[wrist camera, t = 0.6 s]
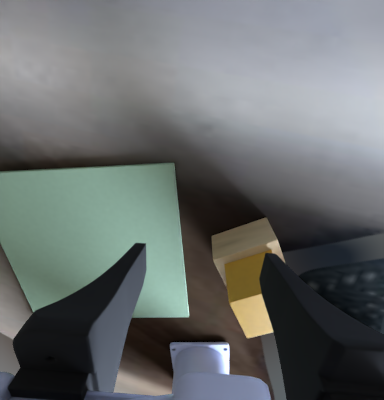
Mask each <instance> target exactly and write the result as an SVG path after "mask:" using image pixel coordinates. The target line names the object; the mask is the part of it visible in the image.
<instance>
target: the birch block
mask: <svg viewBox="0 0 384 400" xmlns="http://www.w3.org/2000/svg"><path fill="white" fill-rule="evenodd" d="M211 238H212V254H213V261H214V263H215V265H216V268H217V270H218V272H219V274H220V276H221V278H222V280H223V282H224V284H225V286H226V288H227V283H226V275H225V267H224V264H227V263H230V262H233V261H236V260H240V259H243V258H246V257H249V256H252V255H255V254H259V253H262V252H265V251H268V250H271V251H272V253H275V254H277V255H278V256H279V257H280V258H281V259H282V260H283V262H284V263H285V260H284V257H283V254H282V251H281V248H280V245H279V243H278V240H277V238H276V236H275V234H274V232H273V229H272V227H271V225H270V223H269V221H268V219H267V218H266V217H265V218H262V219H260V220H257V221H254V222H251V223H248V224H245V225H242V226H239V227H236V228H233V229H230V230H227V231H225V232H222V233H219V234H216V235H213V236H211ZM285 264H286V263H285Z"/></svg>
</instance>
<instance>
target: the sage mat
mask: <svg viewBox="0 0 384 400" xmlns="http://www.w3.org/2000/svg"><path fill="white" fill-rule="evenodd" d="M0 243H1V245H2V248H3V250H4V252H5V254H6V256H7V258H8V260H9V262H10V264H11V266H12V268H13V271H14V273H15V275H16V277H17V279H18V281H19V283H20V285H21V287H22V289H23V291H24V294H25V296H26V298H27V300H28V302H29V304H30V306H31V308H32V310H33V312H35V311H36V310H37V309H40V308H42V307H45V306H47V305H50V304H52V303H54V302H57V301H59V300H61V299H63V298H65V297H67V296H69V295H71V294H73V293H74V292H76V291H78V290H80V289H81V288H83V287H84V286H86V285H88V284H89V283H91V282H92V281H94V280H95V279H97V278H98V277H99V276H101V275H102V274H103V273H104V272H106V271H107V270H108V269H109V268H110V267H112V266H113V265H114V264H115V263H116V262H117V261H118V260H119V259H120V258H121V257H122V256H123V255H124V254H125V253H126V252H127V251H128V250H129V249H130V248H131V247H132V246H133V245H134V244H135V243H146V269H147V270H146V275H145V279H144V283H143V287H142V290H141V293H140V295H139V298H138V301H137V304H136V307H135V309H134V312H133V315H132V318H160V317H189V309H188V298H187V288H186V278H185V268H184V257H183V247H182V237H181V226H180V216H179V206H178V196H177V185H176V175H175V165H174V163H154V164H135V165H116V166H96V167H77V168H58V169H38V170H19V171H0Z"/></svg>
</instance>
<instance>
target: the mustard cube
mask: <svg viewBox="0 0 384 400" xmlns="http://www.w3.org/2000/svg"><path fill="white" fill-rule="evenodd" d="M265 253H272V251H271V250H268V251H265V252H262V253H259V254H255V255H252V256H249V257H246V258H243V259H240V260H236V261H233V262H230V263H227V264H224V267H225V275H226V283H227V291H228V299H229V304H230V306H231V308H232V310H233V312H234V314H235V315H236V317H237V319H238V321H239V323H240V325H241V327H242V329H243V331H244V333H245V335H246V337H247V338H252V337H256V336H260V335H264V334H267V333H272V332H273V328H272V325H271V322H270V319H269V316H268V313H267V310H266V306H265V303H264V300H263V297H262V293H261V287H260V281H259V277H260V273H261V269H262V265H263V261H264V257H265Z"/></svg>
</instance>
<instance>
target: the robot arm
mask: <svg viewBox="0 0 384 400" xmlns="http://www.w3.org/2000/svg"><path fill="white" fill-rule="evenodd" d="M146 270H147V269H146V243H135V244H134V245H133V246H132V247H131V248H130V249H129V250H128V251H127V252H126V253H125V254H124V255H123V256H122V257H121V258H120V259H119V260H118V261H117V262H116V263H115V264H114V265H113V266H112V267H110V268H109V269H108V270H107V271H106V272H104V273H103V274H102V275H101V276H99V277H98V278H97V279H95V280H94V281H92V282H91V283H89V284H88V285H86V286H84V287H83V288H81V289H80V290H78V291H76V292H74V293H73V294H71V295H69V296H67V297H65V298H63V299H61V300H59V301H57V302H54V303H52V304H50V305H47V306H45V307H42V308H40V309H37V310H36V311H35V312H34V313H33V314H32V315H31V316H30V318H29V319H28V320H27V321H26V323H25V324H24V325H23V327H22V328H21V330H20V331H19V332H18V334H17V335H16V336H15V338H14V340H13V348H14V351H15V354H16V357H17V359H18V361H19V364H20V367H21V368H20V369H19V371H18V372H17V374H16V375H15V376H14V375H12V374H11V373H7V372H0V400H271V398H270V393H269V388H268V385H267V384H265V383H264V382H263V381H262V380H260V379H259V378H255V377H251V376H242V375H229V343H227V342H172V343H170V352H171V359H172V365H173V371H174V376H173V386H172V394H168V395H160V396H150V395H137V394H125V393H113V391H114V387H115V382H116V377H117V373H118V369H119V364H120V360H121V356H122V351H123V347H124V343H125V339H126V335H127V331H128V327H129V324H130V321H131V318H132V315H133V312H134V309H135V307H136V304H137V301H138V298H139V295H140V293H141V290H142V287H143V283H144V279H145V275H146ZM259 281H260V287H261V293H262V297H263V300H264V303H265V306H266V310H267V313H268V316H269V319H270V322H271V325H272V328H273V332H274V335H275V339H276V344H277V348H278V353H279V358H280V364H281V369H282V374H283V380H284V386H285V392H286V399H287V400H384V334H382V333H380V332H378V331H376V330H374V329H372V328H370V327H368V326H366V325H364V324H362V323H361V322H359V321H357V320H355V319H354V318H352V317H350V316H349V315H347V314H346V313H344V312H343V311H341V310H340V309H338V308H337V307H335V306H334V305H332V304H331V303H329V302H328V301H327V300H325V299H324V298H323V297H321V296H320V295H319V294H318V293H316V292H315V291H314V290H313V289H312V288H310V287H309V286H308V285H307V284H306V283H305V282H304V281H303V280H302V279H300V278H299V277H298V276H297V275H296V274H295V273H294V272H293V271H292V270H291V269H290V268H289V267H288V266H287V265H286V264H285V263H284V262H283V260H282V259H281V258H280V257H279V256H278V255H277V254H275V253H265V257H264V261H263V265H262V269H261V273H260V277H259Z"/></svg>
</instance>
